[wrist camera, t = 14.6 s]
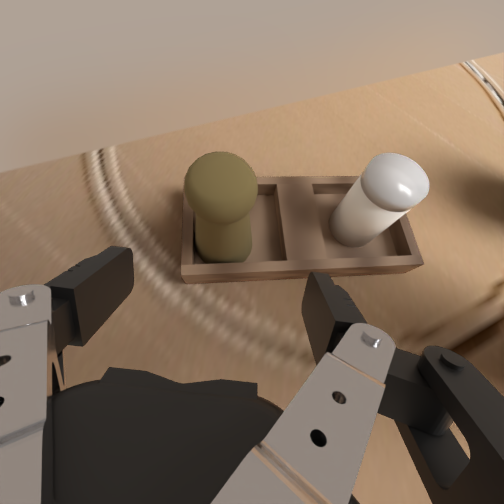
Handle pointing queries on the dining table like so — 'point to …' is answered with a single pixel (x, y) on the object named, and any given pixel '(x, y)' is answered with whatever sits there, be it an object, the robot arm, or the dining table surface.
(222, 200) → the olive mushroom knob
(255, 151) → the dining table surface
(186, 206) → the cruet caddy
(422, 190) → the salt shaker
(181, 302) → the dining table surface
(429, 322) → the dining table surface
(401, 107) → the dining table surface
